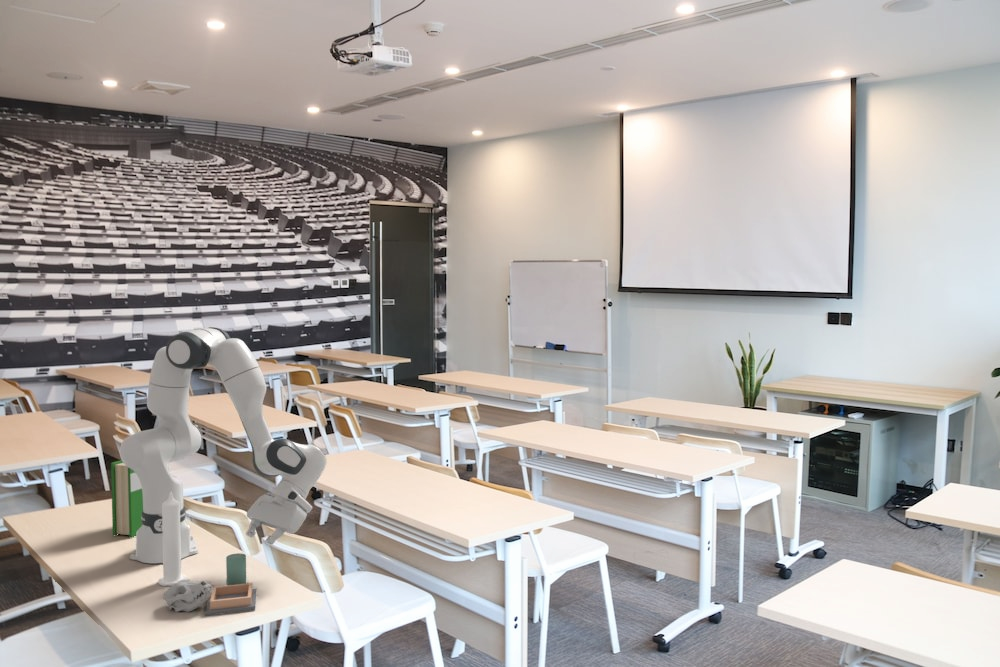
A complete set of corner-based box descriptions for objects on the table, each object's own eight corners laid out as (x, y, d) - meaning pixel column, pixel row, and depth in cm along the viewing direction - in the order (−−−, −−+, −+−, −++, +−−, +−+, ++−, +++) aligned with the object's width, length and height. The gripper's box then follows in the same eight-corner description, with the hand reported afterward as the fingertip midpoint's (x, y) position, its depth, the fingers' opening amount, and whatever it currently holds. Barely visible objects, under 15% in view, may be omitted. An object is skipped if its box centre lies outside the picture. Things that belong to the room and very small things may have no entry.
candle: (176, 587, 200) (174, 495, 199) (152, 585, 202) (150, 494, 200) (191, 577, 207) (190, 488, 206) (169, 575, 209) (167, 487, 207)
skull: (172, 589, 193) (203, 560, 191) (192, 617, 191) (223, 588, 189) (151, 599, 185) (183, 569, 183) (172, 628, 183) (204, 598, 182)
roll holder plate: (209, 597, 194) (209, 585, 194) (256, 592, 197) (256, 581, 197) (205, 615, 183) (205, 603, 183) (255, 610, 186) (255, 598, 186)
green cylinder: (227, 583, 203) (226, 554, 203) (246, 581, 205) (246, 552, 204) (226, 590, 199) (225, 560, 198) (245, 588, 200) (245, 558, 200)
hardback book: (131, 538, 240) (130, 464, 239) (112, 536, 242) (111, 463, 241) (169, 521, 257) (168, 453, 256) (151, 520, 259) (149, 451, 258)
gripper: (259, 485, 218) (230, 526, 211) (303, 497, 206) (273, 541, 199) (273, 497, 222) (244, 537, 215) (316, 509, 209) (287, 553, 202)
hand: (258, 539), depth 207 cm, fingers open, 8 cm apart
